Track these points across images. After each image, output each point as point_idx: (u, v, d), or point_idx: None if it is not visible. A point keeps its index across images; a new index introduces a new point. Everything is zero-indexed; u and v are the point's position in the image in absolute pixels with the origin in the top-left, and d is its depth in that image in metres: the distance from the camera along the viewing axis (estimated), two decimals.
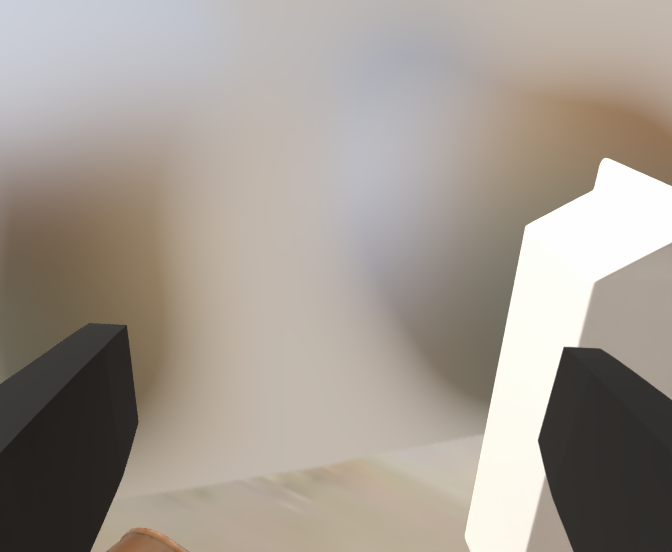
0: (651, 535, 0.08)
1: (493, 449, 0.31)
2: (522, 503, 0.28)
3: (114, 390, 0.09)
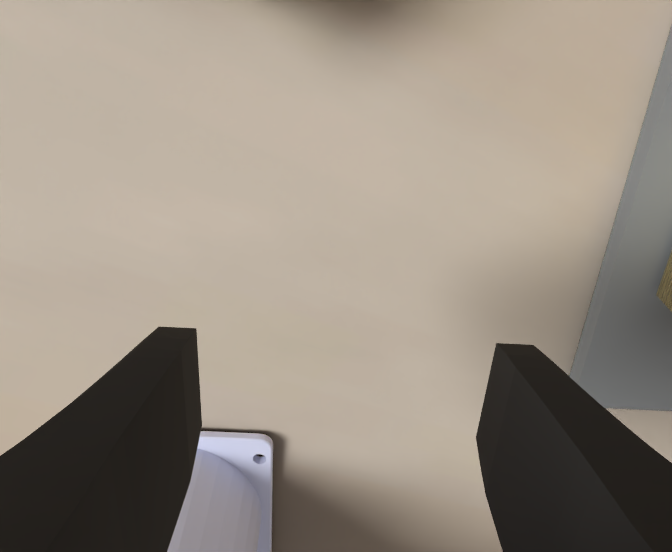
0: (562, 532, 0.07)
1: None
2: None
3: (186, 393, 0.09)
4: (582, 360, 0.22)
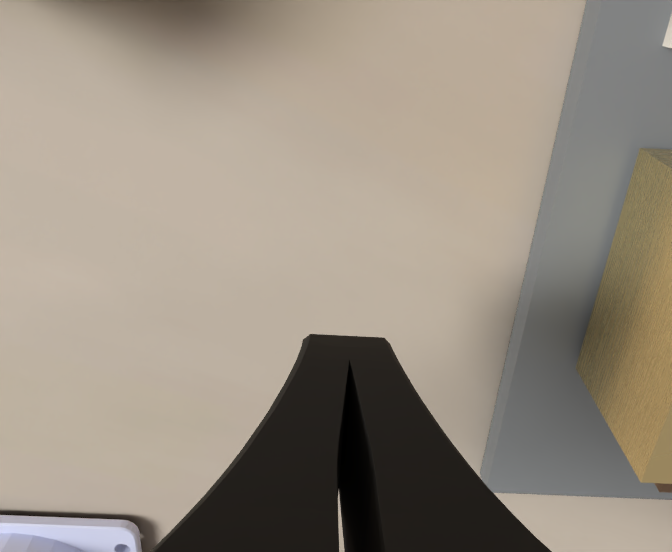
0: (362, 523, 0.07)
1: None
2: None
3: None
4: (495, 440, 0.18)
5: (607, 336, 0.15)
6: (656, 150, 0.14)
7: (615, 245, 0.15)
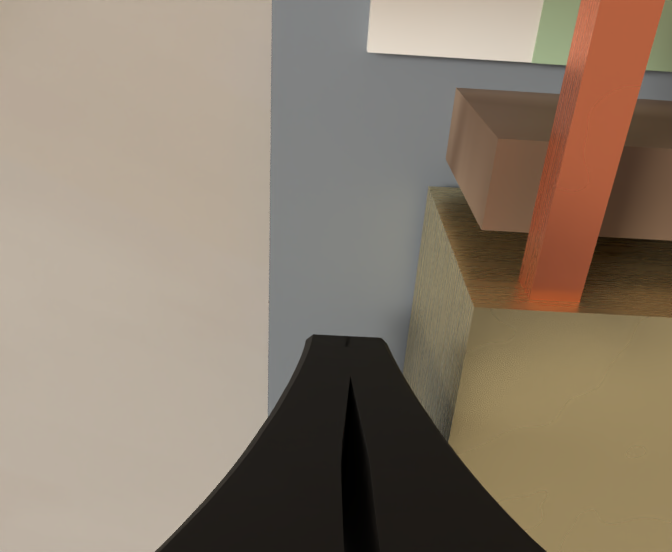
0: (359, 523, 0.07)
1: None
2: None
3: None
4: None
5: None
6: (447, 190, 0.10)
7: (413, 307, 0.11)
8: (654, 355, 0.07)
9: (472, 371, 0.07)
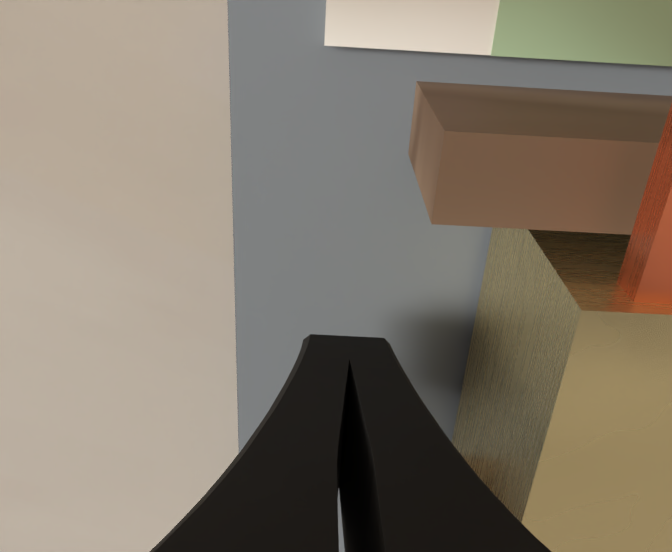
0: (363, 523, 0.07)
1: None
2: None
3: None
4: None
5: (471, 423, 0.12)
6: None
7: (480, 309, 0.11)
8: None
9: (573, 375, 0.07)
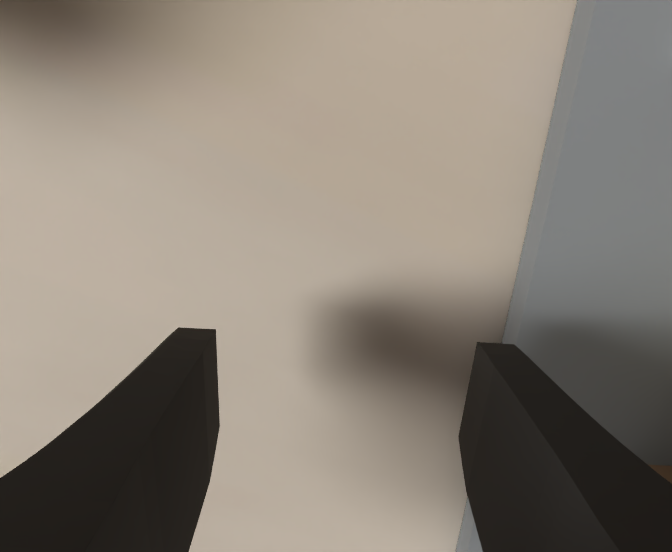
0: (536, 531, 0.07)
1: None
2: None
3: (207, 394, 0.09)
4: (468, 532, 0.15)
5: None
6: None
7: None
8: None
9: None
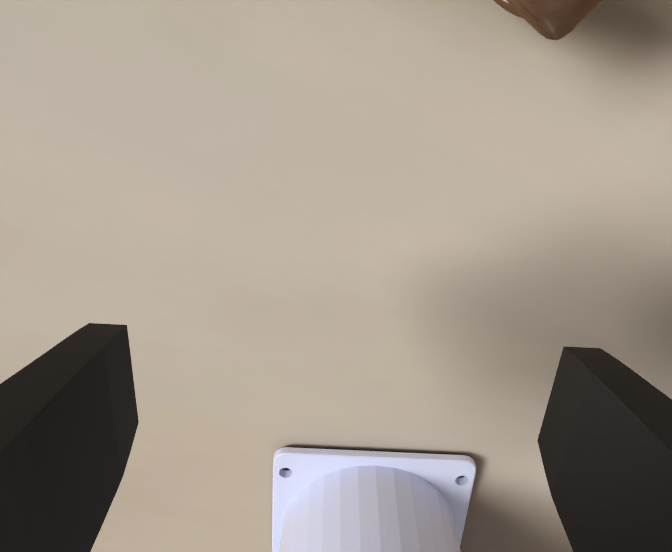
0: (651, 535, 0.08)
1: None
2: None
3: (114, 390, 0.09)
4: None
5: None
6: None
7: None
8: None
9: None
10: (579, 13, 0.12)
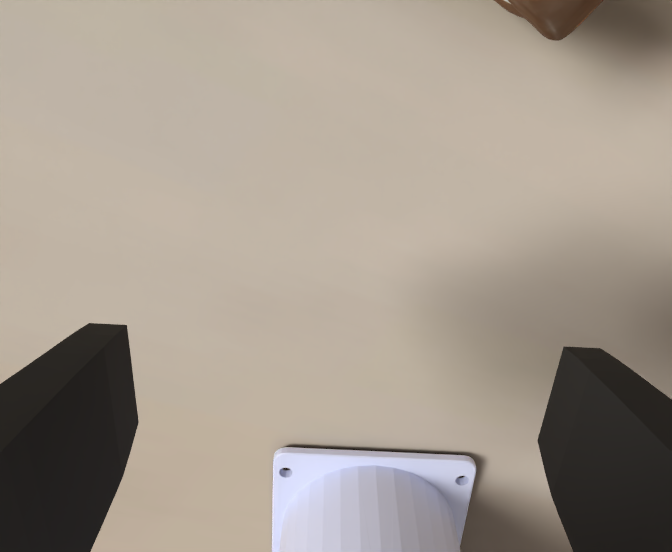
0: (651, 536, 0.08)
1: None
2: None
3: (114, 390, 0.09)
4: None
5: None
6: None
7: None
8: None
9: None
10: (581, 13, 0.12)
